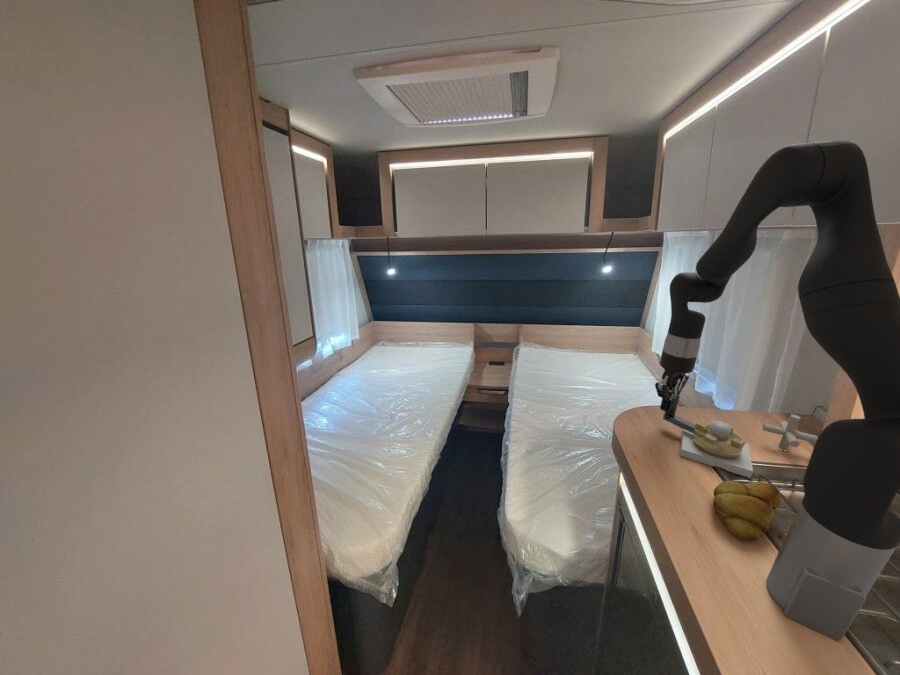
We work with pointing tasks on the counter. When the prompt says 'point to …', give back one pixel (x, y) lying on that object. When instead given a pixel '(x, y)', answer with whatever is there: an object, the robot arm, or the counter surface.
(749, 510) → the bread roll
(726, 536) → the counter surface
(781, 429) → the pipe connector
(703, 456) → the flange plate
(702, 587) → the counter surface
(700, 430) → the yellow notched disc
